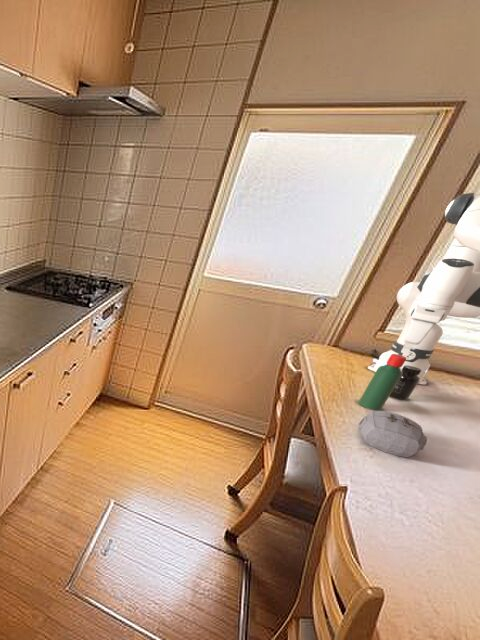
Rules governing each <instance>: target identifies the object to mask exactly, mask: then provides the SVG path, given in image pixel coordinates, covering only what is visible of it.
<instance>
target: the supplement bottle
mask: <svg viewBox="0 0 480 640" xmlns="http://www.w3.org/2000/svg"><path fill="white" fill-rule="evenodd" d="M401 372H402V376H401V378H400V379H399V381H398V383H397V384H396V386H395V388H394V389H393V391H392V393H391V394H390V396H389V397H390V398H393V399H397V400H399V401H400V400H401V401H407V400H408V399H409V398H410V396H411V395H412V393H413V391H414V390H415V389H416V387H417V385H419V384H418V382H419V380H420V378H419V377H418V375H419V374H420V372H421V369H419V368H416V367H413V366H408V365H405V366H404V367H403V369H402V371H401Z"/></svg>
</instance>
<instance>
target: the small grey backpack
mask: <svg viewBox="0 0 480 640" xmlns="http://www.w3.org/2000/svg"><path fill="white" fill-rule="evenodd" d="M358 426H359V427H358V429H359V434H360V435H361V437H362V439H363V440H364V443H365V444H367V445H368V446H370V447H372V448H374V449H377V450H379V451H382V452H384V453H387V454H391V455H394V456H397V457H403V458H409V457H413V456H414V455H415V454H417V453H418V452H419V451H422V450H424V448H425V446H426V445H427V443H428V436H426V435H425V433H424V430H423V428H422V426H421V425H420V424H419V423H417V421H414V420H412V419H410V418H409V417H406V416H404V415H401V414H399V413H395V412H390V411H386V410H372V411H370V412H369V413H366V414H365V415H364V416H363V418H362V419H361V420H360V422H359V423H358Z"/></svg>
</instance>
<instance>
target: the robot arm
mask: <svg viewBox="0 0 480 640" xmlns="http://www.w3.org/2000/svg"><path fill="white" fill-rule="evenodd" d="M444 211H445V212H444V221H445V222H446V223H447V224H452V225H455V229H454V231H453V236H454V239H453V240H452V243H451V244H450V246H449V248H448V250H447V252H446V253H445V255H444V257H443V258H442V259H441V260H439V262H438V263H437V264H436V266H435V267H434V268H432V269H430V270H428V271H425V273H424V275H423V277H422V278H421V280H420V281H411V282H408V283H406V284H404V285H403V286H402V287H400V289H399V290H398V291H397V294H396V303H397V304H398V306H399V307H400V308H401V309H402V310H403V312H404V316H405V322H404V326H403V328H402V330H401V333H400V334H399V336H398V338H397V340H395V341H394V342H393V343H392V345H391V347H390V350H387V351H384V352H383V353H381V354H380V355H378V354H376V353H375V352H377V350H376V349H377V348H374V349H373V350H372V353H371V354H372V356H374V357H376V358H378V359H376V358H373V360H372V362H374V363H373V364H371V365H368V367H367V369H368V370H370V371H371V372H374V373H376V371H377V369H378V368H379V367H380V366H383V365H387V361H388V359H389V358H390V356H391V355H392V354H397V355H401V356H404V357H406V361H405V362H404V364H403V365H402V367H400V369H401V371H402V369H403V367H404V366H405V365H408V366H413V367H416V368H419V369H421V372H420V374H419V375H418V377H419V378H420V380H419V382H418V384H417V385H424V386H426V385H427V384H428V381H427V380H426V379H425V375H426V374H427V373H428V370H429V369H430V367H431V363H430V362H429V359H430V358H431V357H432V355H433V353H434V351H435V350H434V349H435V347H436V345H437V344H438V342H439V341H440V339H441V337H442V336H443V334H444V330H443V328H442V327H441V326H440V325H439V323H440V322H442V321H445V320H446V319H447V317H455V318H462V319H463V318H464V319H465V318H466V319H467V318H469V319H473V318H474V319H475V318H479V317H480V193H475V192H467V193H462V194H460V195H458V196H456V197H455V198H454V199H453V200H452V201H451V202H450V203H449V204H448V205H447V206H446V208H445V210H444Z"/></svg>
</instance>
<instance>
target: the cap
mask: <svg viewBox="0 0 480 640" xmlns="http://www.w3.org/2000/svg"><path fill="white" fill-rule="evenodd" d="M405 361H406V357H404V356H401V355H397V354H392V355H391V356H390V358H389V359H388V361H387V364H388V365H391V366H394V367H402V365H403V364H404V362H405Z"/></svg>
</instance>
